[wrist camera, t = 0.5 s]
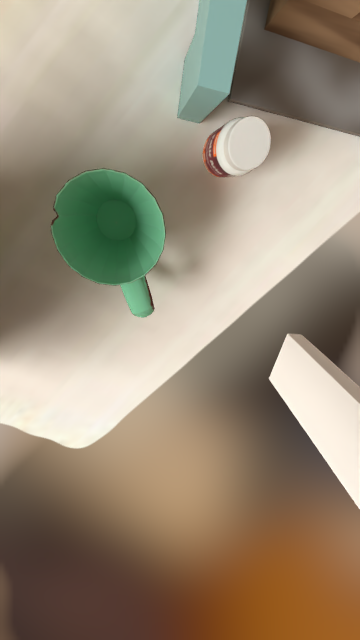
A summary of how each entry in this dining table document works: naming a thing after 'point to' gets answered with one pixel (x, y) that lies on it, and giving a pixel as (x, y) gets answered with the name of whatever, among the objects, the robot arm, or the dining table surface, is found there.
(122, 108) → the dining table surface
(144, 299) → the mug
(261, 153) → the pill bottle
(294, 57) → the slotted stand
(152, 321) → the dining table surface
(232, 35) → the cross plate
